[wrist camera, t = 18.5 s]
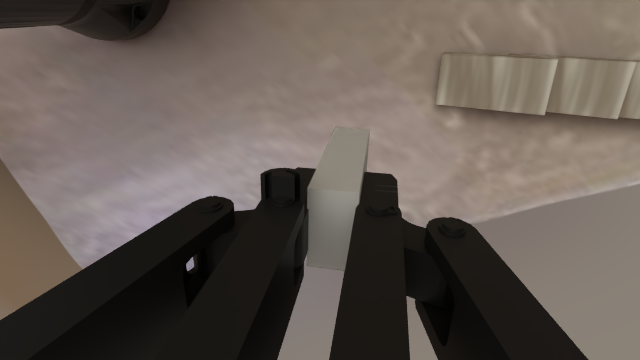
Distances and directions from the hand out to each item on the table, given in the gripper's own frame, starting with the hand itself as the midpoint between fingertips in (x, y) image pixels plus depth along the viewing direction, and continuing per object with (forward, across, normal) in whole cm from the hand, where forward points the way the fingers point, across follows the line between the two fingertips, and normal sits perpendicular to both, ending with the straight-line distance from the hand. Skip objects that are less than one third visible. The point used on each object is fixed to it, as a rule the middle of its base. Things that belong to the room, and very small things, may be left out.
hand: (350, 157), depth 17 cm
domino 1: (+26, +7, 0) cm, 27 cm away
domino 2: (+26, +13, 0) cm, 29 cm away
